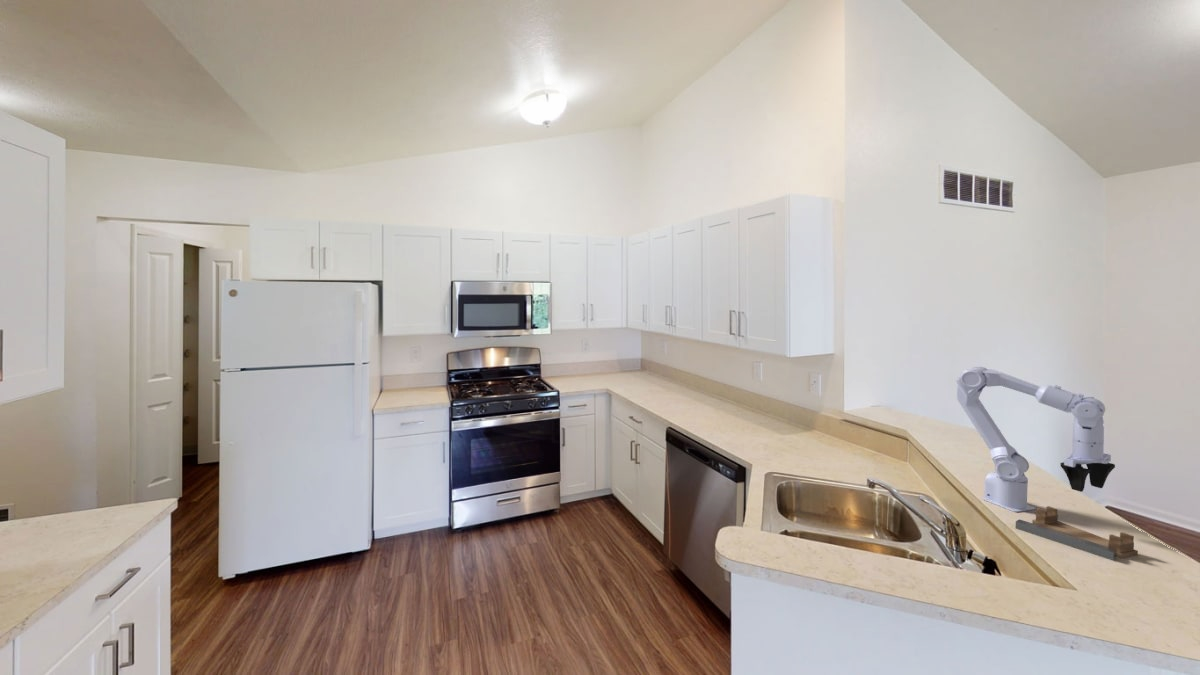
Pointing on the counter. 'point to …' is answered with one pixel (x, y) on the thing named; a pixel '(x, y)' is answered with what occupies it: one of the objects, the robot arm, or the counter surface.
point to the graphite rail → (1067, 540)
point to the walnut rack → (1086, 533)
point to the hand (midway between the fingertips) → (1087, 488)
